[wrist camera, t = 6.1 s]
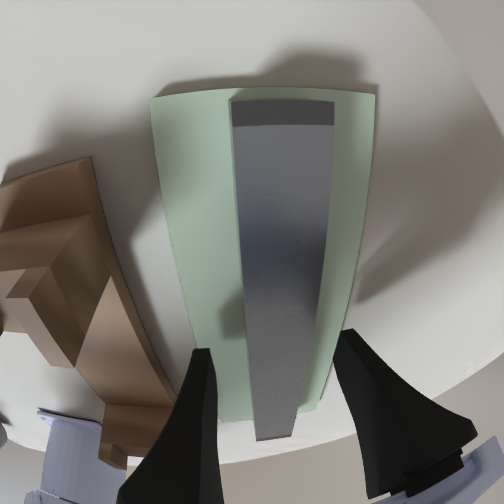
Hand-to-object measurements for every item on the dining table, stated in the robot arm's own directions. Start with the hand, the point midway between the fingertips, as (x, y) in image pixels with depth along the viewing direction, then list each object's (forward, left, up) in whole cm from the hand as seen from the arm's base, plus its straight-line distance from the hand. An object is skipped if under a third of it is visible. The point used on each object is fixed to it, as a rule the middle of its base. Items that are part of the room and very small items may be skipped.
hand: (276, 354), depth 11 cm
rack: (-1, +8, -2) cm, 9 cm away
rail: (0, 0, -1) cm, 1 cm away
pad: (0, 0, -2) cm, 2 cm away
